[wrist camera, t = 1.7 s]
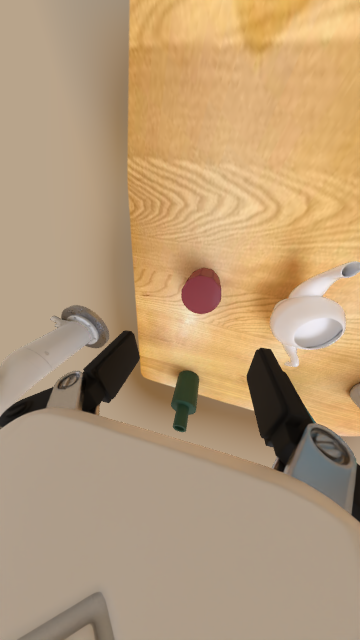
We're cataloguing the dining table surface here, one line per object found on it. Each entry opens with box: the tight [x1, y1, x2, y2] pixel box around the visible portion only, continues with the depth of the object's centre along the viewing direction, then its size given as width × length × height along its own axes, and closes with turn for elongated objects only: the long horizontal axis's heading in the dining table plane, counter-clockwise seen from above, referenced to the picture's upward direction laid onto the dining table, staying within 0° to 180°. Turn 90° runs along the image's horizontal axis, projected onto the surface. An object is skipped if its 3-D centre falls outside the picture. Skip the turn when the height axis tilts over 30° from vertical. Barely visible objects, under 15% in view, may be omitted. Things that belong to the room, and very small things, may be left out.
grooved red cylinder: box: [182, 268, 221, 314], centre depth 25 cm, size 7×7×8 cm
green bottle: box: [171, 371, 199, 432], centre depth 39 cm, size 7×7×15 cm
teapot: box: [270, 261, 360, 367], centre depth 23 cm, size 10×20×9 cm, turn 5°
